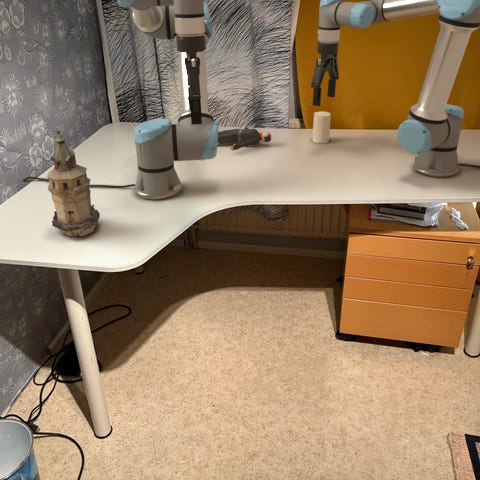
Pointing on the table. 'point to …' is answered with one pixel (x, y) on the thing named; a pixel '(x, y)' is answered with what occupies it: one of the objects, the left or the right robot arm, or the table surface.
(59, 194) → the miniature building
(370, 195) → the table surface
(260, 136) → the toy
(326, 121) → the can
